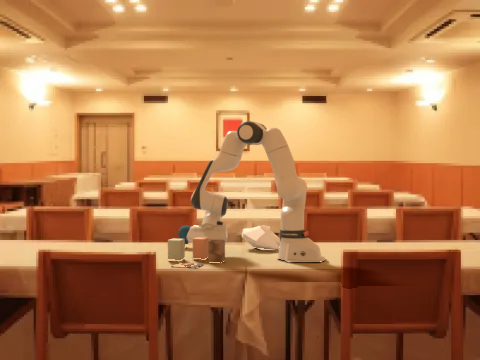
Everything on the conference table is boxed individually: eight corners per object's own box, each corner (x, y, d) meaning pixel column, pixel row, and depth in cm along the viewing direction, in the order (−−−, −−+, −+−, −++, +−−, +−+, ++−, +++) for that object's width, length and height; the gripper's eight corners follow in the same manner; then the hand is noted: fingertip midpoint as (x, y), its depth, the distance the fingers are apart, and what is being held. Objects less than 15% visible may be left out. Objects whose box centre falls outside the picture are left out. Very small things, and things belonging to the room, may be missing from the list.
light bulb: (186, 249, 288) (186, 226, 288) (175, 247, 293) (174, 225, 293) (197, 247, 295) (196, 225, 294) (185, 246, 300) (185, 224, 299)
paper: (276, 253, 273) (276, 229, 272) (232, 250, 283) (232, 226, 283) (293, 246, 295) (293, 224, 295) (252, 244, 306) (252, 222, 306)
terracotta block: (209, 258, 261) (208, 237, 261) (204, 260, 255) (204, 239, 255) (197, 257, 263) (197, 237, 262) (192, 259, 257) (192, 238, 257)
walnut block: (225, 261, 252) (224, 240, 252) (221, 264, 246) (220, 242, 246) (212, 261, 254) (212, 239, 253) (208, 263, 248) (208, 241, 248)
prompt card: (203, 264, 245) (203, 262, 245) (196, 268, 236) (196, 266, 236) (179, 263, 248) (178, 261, 248) (171, 267, 240) (171, 265, 240)
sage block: (184, 259, 258) (184, 238, 257) (179, 262, 252) (179, 240, 252) (173, 259, 259) (172, 238, 259) (167, 261, 254) (167, 240, 253)
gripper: (189, 221, 272) (181, 244, 263) (228, 222, 266) (221, 245, 257) (192, 229, 276) (185, 251, 267) (230, 230, 271) (224, 253, 262)
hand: (203, 248), depth 262 cm, fingers closed, pressing on terracotta block
